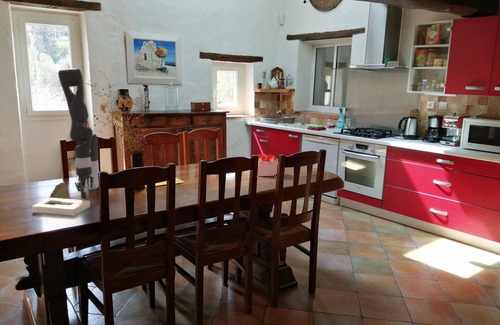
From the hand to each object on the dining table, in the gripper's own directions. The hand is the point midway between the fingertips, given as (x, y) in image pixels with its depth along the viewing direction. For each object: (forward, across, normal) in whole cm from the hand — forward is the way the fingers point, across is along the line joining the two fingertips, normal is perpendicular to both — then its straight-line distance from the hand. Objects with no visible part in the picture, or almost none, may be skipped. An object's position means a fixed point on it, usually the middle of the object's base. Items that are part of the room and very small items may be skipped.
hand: (85, 197), depth 199 cm
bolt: (+4, 0, 0) cm, 4 cm away
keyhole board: (+4, +10, -7) cm, 13 cm away
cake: (+4, -93, +84) cm, 125 cm away
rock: (+4, -5, -19) cm, 20 cm away
